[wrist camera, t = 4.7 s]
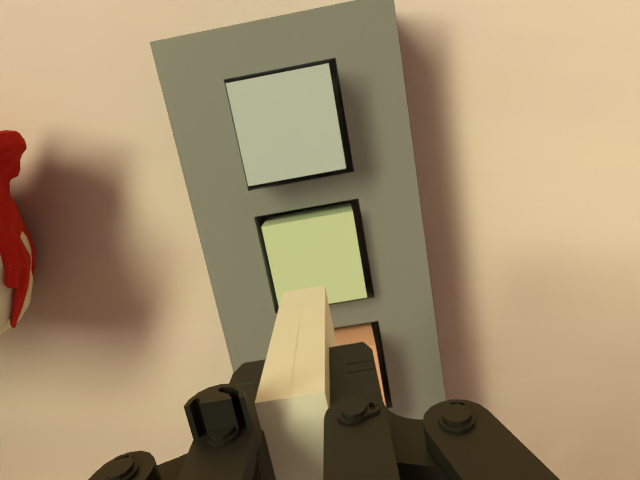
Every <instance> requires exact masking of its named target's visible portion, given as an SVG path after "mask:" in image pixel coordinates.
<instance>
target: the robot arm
mask: <svg viewBox="0 0 640 480" xmlns="http://www.w3.org/2000/svg"><path fill="white" fill-rule="evenodd" d="M184 409H185V412H186V416H187V419H188V422H189V426H190V429H191V433H192V436H193V439H194V440H193V442H192V445H191V447H190V450H189V452H188V453H187V454H185V455H182V456H180V457H178V458H175V459H173V460H170V461H167V462H165V463H162V464H160V465H156V462H155V458H154V457H153V456H152V455H151V454H150V453H149V452H144V451H135V452H129V453H126V454H124V455H120V456H118V457H116V458H114V459H113V460H111V461H109V462H108V463H106V464H104V465H103V466H102V467H101V468H100V469H99V470H98V471H96V472H95V473H94V474H93V475H92V476H91V477H90V479H89V480H560V479H559V478H558V477H556V476H555V475H554V474H553V473H552V472H551V471H550V470H549V469H548V468H547V467H546V466H545V465H544V464H543V463H542V462H541V461H540V460H539V459H538V458H537V457H536V456H535V455H534V454H533V453H532V452H531V451H530V450H529V449H528V448H526V447H525V446H524V445H523V444H522V443H521V442H520V441H519V440H518V439H517V438H516V437H515V436H514V435H513V434H512V433H511V432H510V431H509V430H508V429H507V428H506V427H505V426H504V425H503V424H502V423H501V422H500V421H499V420H498V419H497V418H495V417H494V416H493V415H492V414H491V413H490V412H489V411H488V410H487V409H485V408H484V407H482V406H481V405H479V404H477V403H474V402H471V401H467V400H454V399H453V400H448V401H442V402H439V403H437V404H435V405H433V406H431V407H430V408H429V409H428V410H427V411H426V412H425V414H424V418H423V420H422V419H411V418H405V417H402V416H399V415H396V414H394V413H393V412H391V411H389V409H388V408H387V407H386V406H385V404H384V402H383V398H382V394H381V389H380V384H379V379H378V374H377V370H376V365H375V360H374V355H373V351H372V349H371V348H370V347H369V346H368V345H367V344H365V343H364V342H358V343H352V344H346V345H340V346H337V343H336V338H335V333H334V328H333V323H332V318H331V313H330V308H329V303H328V298H327V293H326V287H325V285H320V286H315V287H309V288H303V289H298V290H292V291H286V292H283V294H282V298H281V302H280V306H279V310H278V314H277V317H276V321H275V325H274V329H273V333H272V337H271V341H270V345H269V349H268V353H267V357H266V359H264V360H258V361H252V362H246V363H243V364H242V365H241V366H240V367H239V368H238V369H237V370H236V371H235V372H234V373H233V375H232V378H231V380H230V383H229V384H220V385H216V386H213V387H209V388H207V389H205V390H203V391H201V392H199V393H197V394H196V395H194V396H193V397H192V398H190V399H189V400H188V402H187V403H186V404H185V406H184Z"/></svg>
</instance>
